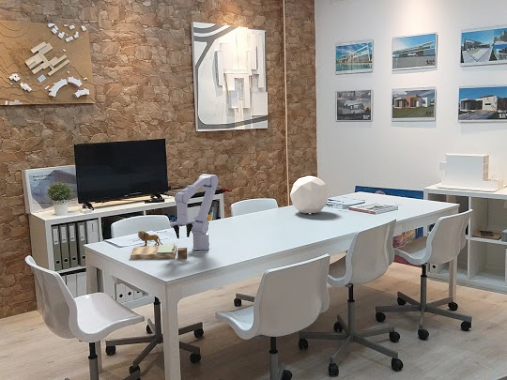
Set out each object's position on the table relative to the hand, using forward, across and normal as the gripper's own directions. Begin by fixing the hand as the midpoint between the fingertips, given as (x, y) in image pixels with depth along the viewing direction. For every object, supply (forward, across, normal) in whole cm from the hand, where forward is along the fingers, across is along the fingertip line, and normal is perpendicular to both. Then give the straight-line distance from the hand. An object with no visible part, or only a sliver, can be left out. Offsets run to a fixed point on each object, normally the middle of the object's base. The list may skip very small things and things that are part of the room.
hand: (183, 237), depth 314 cm
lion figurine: (+10, +12, -27) cm, 31 cm away
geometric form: (+10, -124, -66) cm, 141 cm away
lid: (+7, +9, -4) cm, 11 cm away
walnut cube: (+10, +3, +7) cm, 12 cm away
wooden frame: (+9, +15, -6) cm, 19 cm away
